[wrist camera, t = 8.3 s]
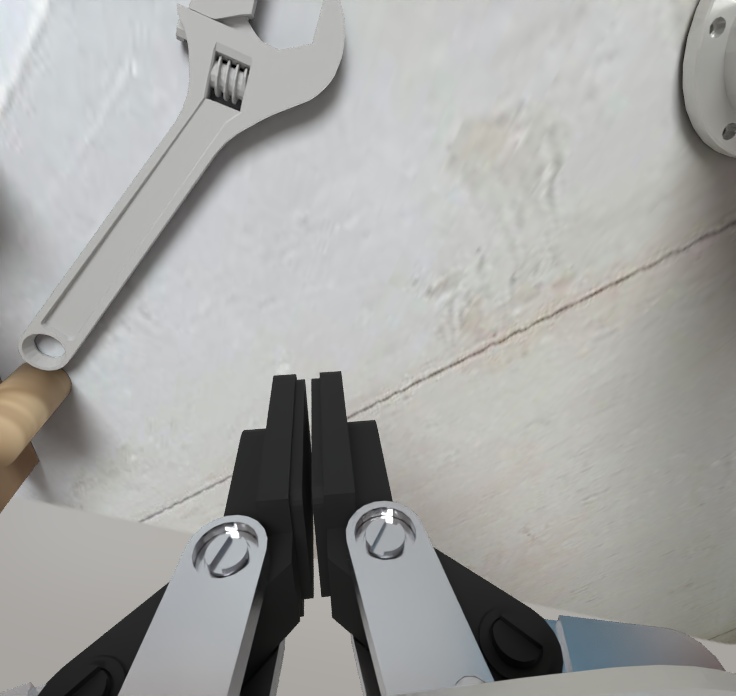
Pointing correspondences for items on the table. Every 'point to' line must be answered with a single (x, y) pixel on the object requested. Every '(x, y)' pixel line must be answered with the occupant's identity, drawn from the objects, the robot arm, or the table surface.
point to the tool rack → (25, 420)
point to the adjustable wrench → (186, 153)
